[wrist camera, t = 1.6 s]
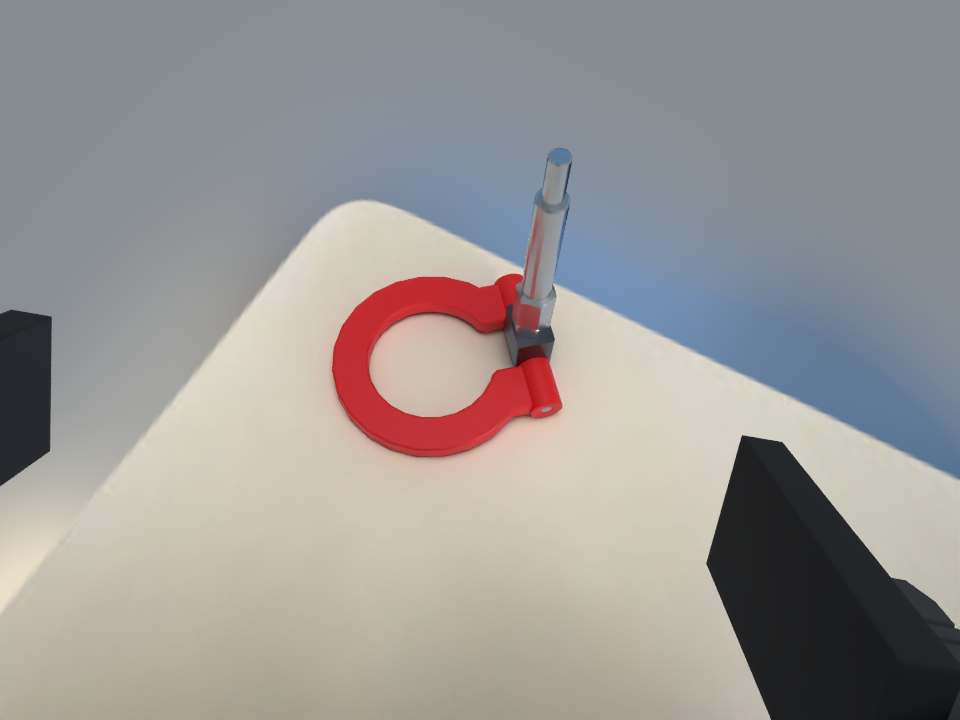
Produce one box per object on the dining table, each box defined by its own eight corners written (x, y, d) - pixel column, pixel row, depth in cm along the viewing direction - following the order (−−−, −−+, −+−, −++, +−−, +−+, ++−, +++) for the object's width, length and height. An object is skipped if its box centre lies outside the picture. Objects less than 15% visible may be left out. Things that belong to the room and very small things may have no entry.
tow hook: (351, 479, 34) (568, 434, 35) (302, 321, 22) (627, 263, 23) (322, 307, 37) (519, 272, 39) (267, 96, 26) (549, 55, 27)
